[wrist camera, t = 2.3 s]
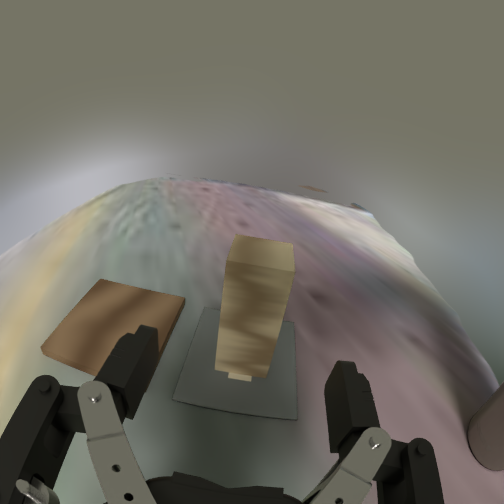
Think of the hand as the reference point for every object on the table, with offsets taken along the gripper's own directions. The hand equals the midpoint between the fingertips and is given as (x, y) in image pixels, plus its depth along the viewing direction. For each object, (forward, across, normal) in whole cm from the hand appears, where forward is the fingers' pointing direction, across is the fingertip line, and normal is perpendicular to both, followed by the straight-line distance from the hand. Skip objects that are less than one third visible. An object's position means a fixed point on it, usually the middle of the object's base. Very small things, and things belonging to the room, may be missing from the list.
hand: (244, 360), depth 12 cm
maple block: (+12, 0, +12) cm, 17 cm away
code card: (+12, 0, +12) cm, 17 cm away
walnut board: (+12, +14, +13) cm, 22 cm away
